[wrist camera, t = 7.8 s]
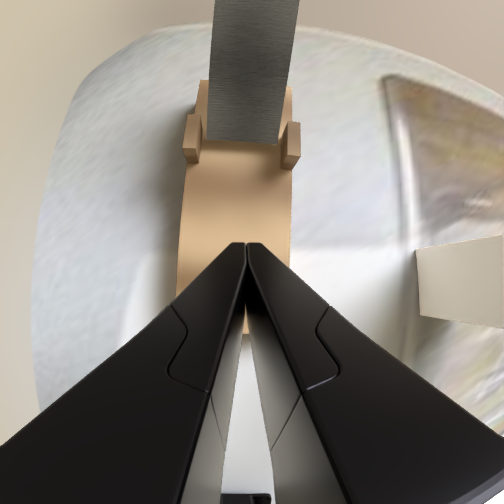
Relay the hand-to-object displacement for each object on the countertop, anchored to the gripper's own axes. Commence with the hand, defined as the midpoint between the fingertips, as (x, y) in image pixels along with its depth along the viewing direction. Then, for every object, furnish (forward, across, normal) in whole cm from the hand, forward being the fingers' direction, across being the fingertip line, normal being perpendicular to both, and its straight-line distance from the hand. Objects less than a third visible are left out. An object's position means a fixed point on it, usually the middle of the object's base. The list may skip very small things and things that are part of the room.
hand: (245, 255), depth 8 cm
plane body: (+13, 0, -6) cm, 14 cm away
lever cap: (+12, 0, -1) cm, 13 cm away
